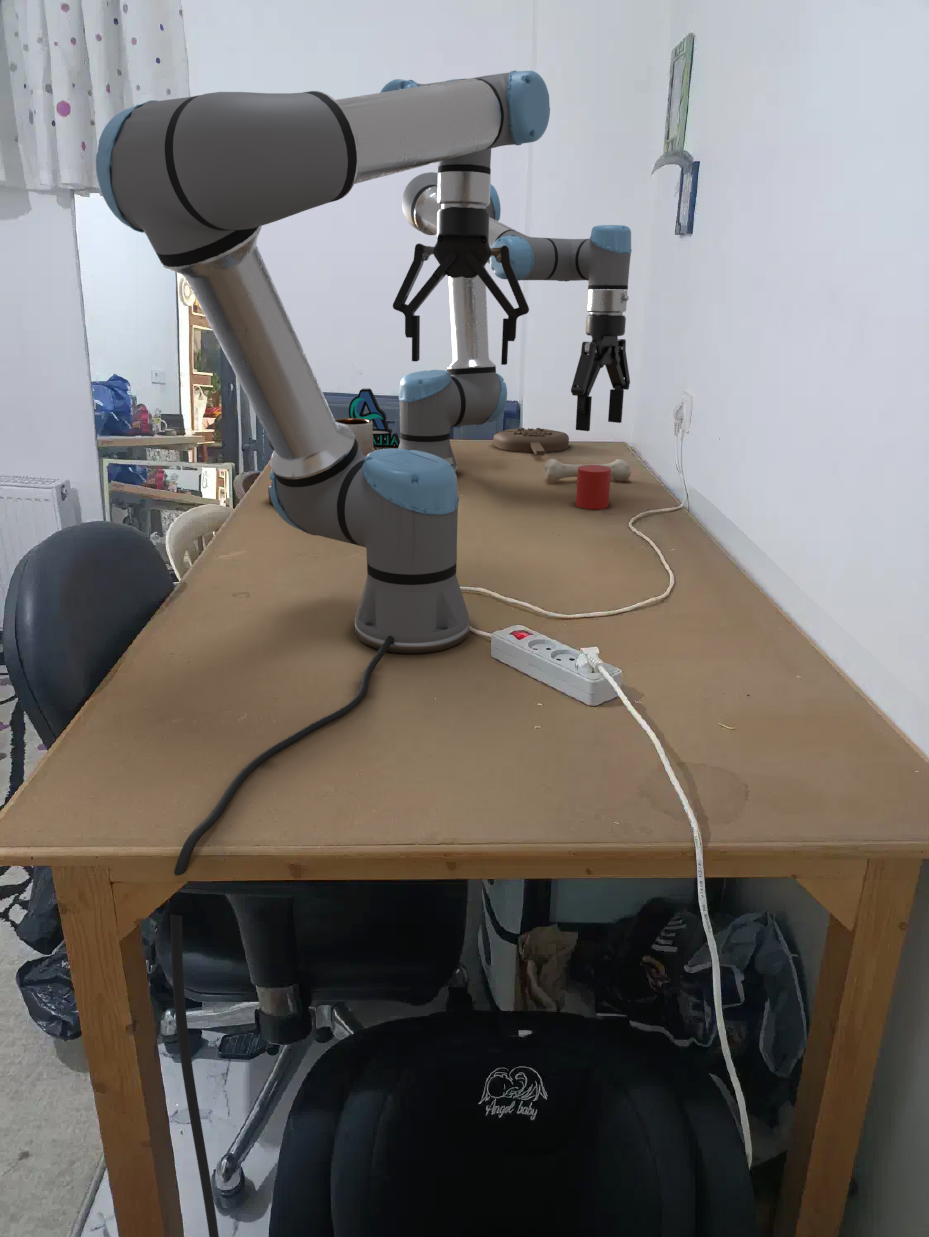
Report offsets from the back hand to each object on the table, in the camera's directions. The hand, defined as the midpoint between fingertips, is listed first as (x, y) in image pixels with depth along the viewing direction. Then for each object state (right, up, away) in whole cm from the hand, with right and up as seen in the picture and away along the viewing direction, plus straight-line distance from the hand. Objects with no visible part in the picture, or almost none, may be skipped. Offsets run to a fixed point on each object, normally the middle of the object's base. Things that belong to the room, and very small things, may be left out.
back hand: (599, 426), depth 170 cm
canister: (0, -15, +6) cm, 16 cm away
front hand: (-28, 0, -41) cm, 50 cm away
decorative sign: (-54, +9, +62) cm, 83 cm away
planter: (-56, +1, +44) cm, 71 cm away
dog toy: (+1, -7, +27) cm, 28 cm away
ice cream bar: (-8, +7, +59) cm, 60 cm away
